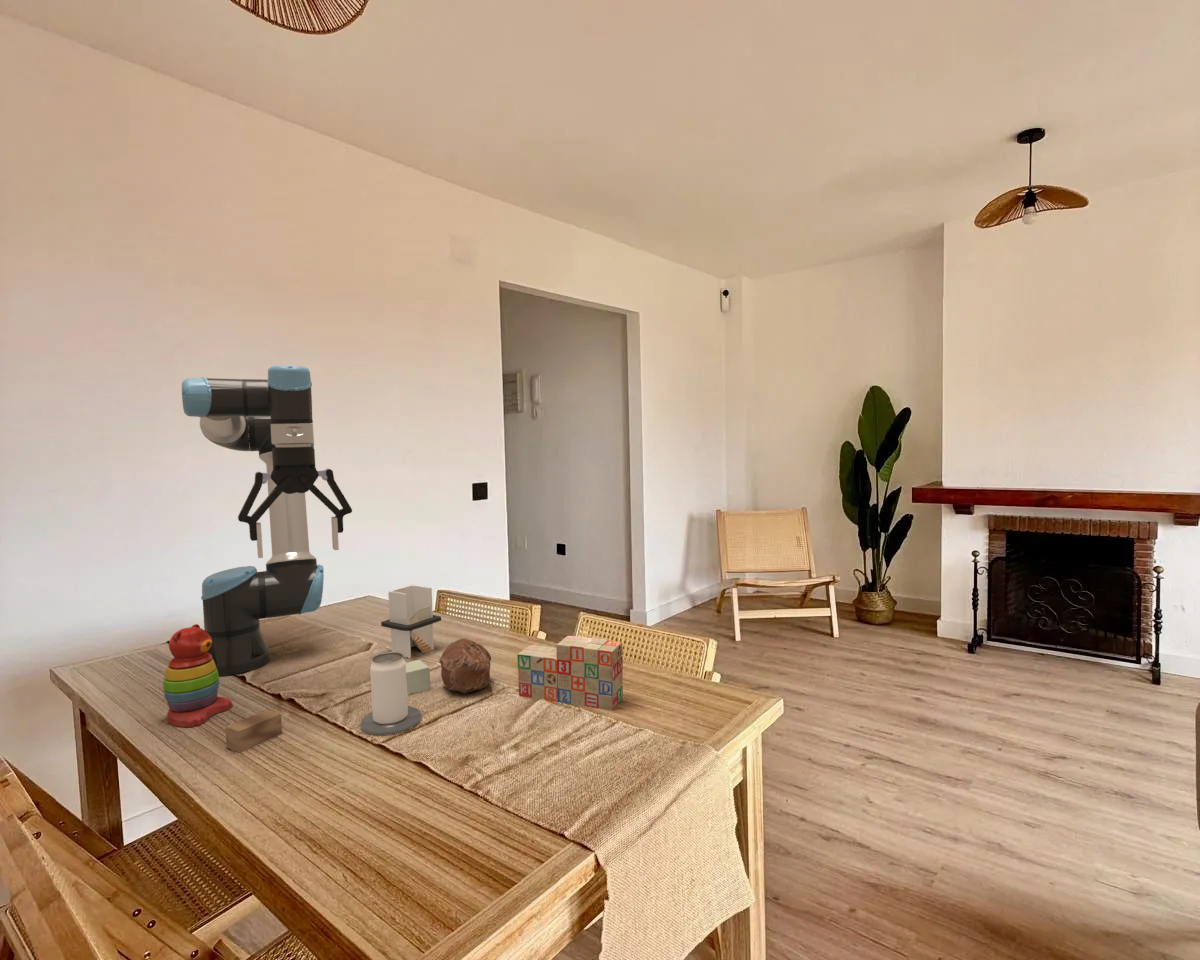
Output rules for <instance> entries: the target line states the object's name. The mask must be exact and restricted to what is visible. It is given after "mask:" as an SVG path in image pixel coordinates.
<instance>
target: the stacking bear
mask: <svg viewBox="0 0 1200 960" xmlns="http://www.w3.org/2000/svg"><path fill="white" fill-rule="evenodd" d="M211 644H212V638H211V637H210V635H209V634H208V633H207V632H206V631H205V630H204V629H203V628H201V627H200V625H199V624H197V623H196V624H193V625H192V626H191V627H183V628H181V629H179V630H177V631H176V632H175V633H173V635H172V636H171V637H170V640H169V643H168V648H169V651H170V653H171V656H173V658H172V659H171V660H170V661H169V663H168V664H167V666H166V668H165V672H164V679H163V686H162V687H163V694H164V695H163V696H164V698H165V700H166V702H167V706H168V708H169V710H167V711H168V712H167V713H166V720H167V722H168V723H169V724H170V725H173V726H176V727H179V728H180V727H181V728H193V727H198V726H200V725H202V724H204V723H206V722H208V719H209V718H210V717H212V716H214V715H216V714H219V713H222V712H226V711H228V710H229V709H231V708H232V707H233V702H232V700H231V698H227V697H223V696H218V691H219V686H220V685H219V684H220V680H219V679H220V676H219V674H218V670H217V668H216V665H215V662H214V660H213V658H212V655H211V654H210V653H208V650H209V649H210V647H211Z"/></svg>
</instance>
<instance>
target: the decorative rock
mask: <svg viewBox="0 0 1200 960" xmlns="http://www.w3.org/2000/svg"><path fill="white" fill-rule="evenodd" d="M491 661H492V657H491V654H490V653H489V651H488V650H487V648H486V647H484V645H482V644H481V643H480V644H479V643H477V642H475V641H473V640H470V639H468V638H466V637H464V638H459V639H457V640H455V641H453V642H451V643H449V644H448V645H447V647H446V648H445V650H444V651H443V653H442V654H441V656H440V657H439V663H440V666H441V667H440V668H441V674H440V677H441V681H442V682H443V683H442V684H443V685H444V686H445V688H446V689H447V690H448V691H454V692H457V691H458V692H460V693H463V694H468V693H469V694H470V693H471V692H474V691H480V690H481V689H484V687H488V685H489V683H490V680H491V675H490V674H491V673H490V672H491V664H492V663H491Z"/></svg>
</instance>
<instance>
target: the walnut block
mask: <svg viewBox="0 0 1200 960" xmlns="http://www.w3.org/2000/svg"><path fill="white" fill-rule="evenodd" d="M282 734H283V727H282V714H281V713H280V712H276V711H274V710H271V709H266V710H263V711H261V712H259V713H255V714H253V715H251V716H248V717H246V718H243V719H241V720H239V721H236V722H233V723H230V724H229V725H226V726H225V738H226V748H227V749H230V750H232V751H235V752H238V753H241V752H245V751H246V750H249V749H251V748H253V747H255V746H257V745H260V744H262V743H264V742H267V741H269V740H271V739H273V738H276V737H277V736H280V735H282Z"/></svg>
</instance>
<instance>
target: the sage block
mask: <svg viewBox="0 0 1200 960" xmlns="http://www.w3.org/2000/svg"><path fill="white" fill-rule="evenodd" d="M405 663H406V680H407V694H410V693H414V694H416V693H415V692H418V693H420V692H419V691H421V692H424V691H423V690H425V691H428V689H429V690H431V674H430V671H431V669H430V666H429V665H427V664H426V663H425V662H423V661H422V660H420V659H417V660H411V661H408V662H405ZM410 695H411V694H410Z"/></svg>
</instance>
